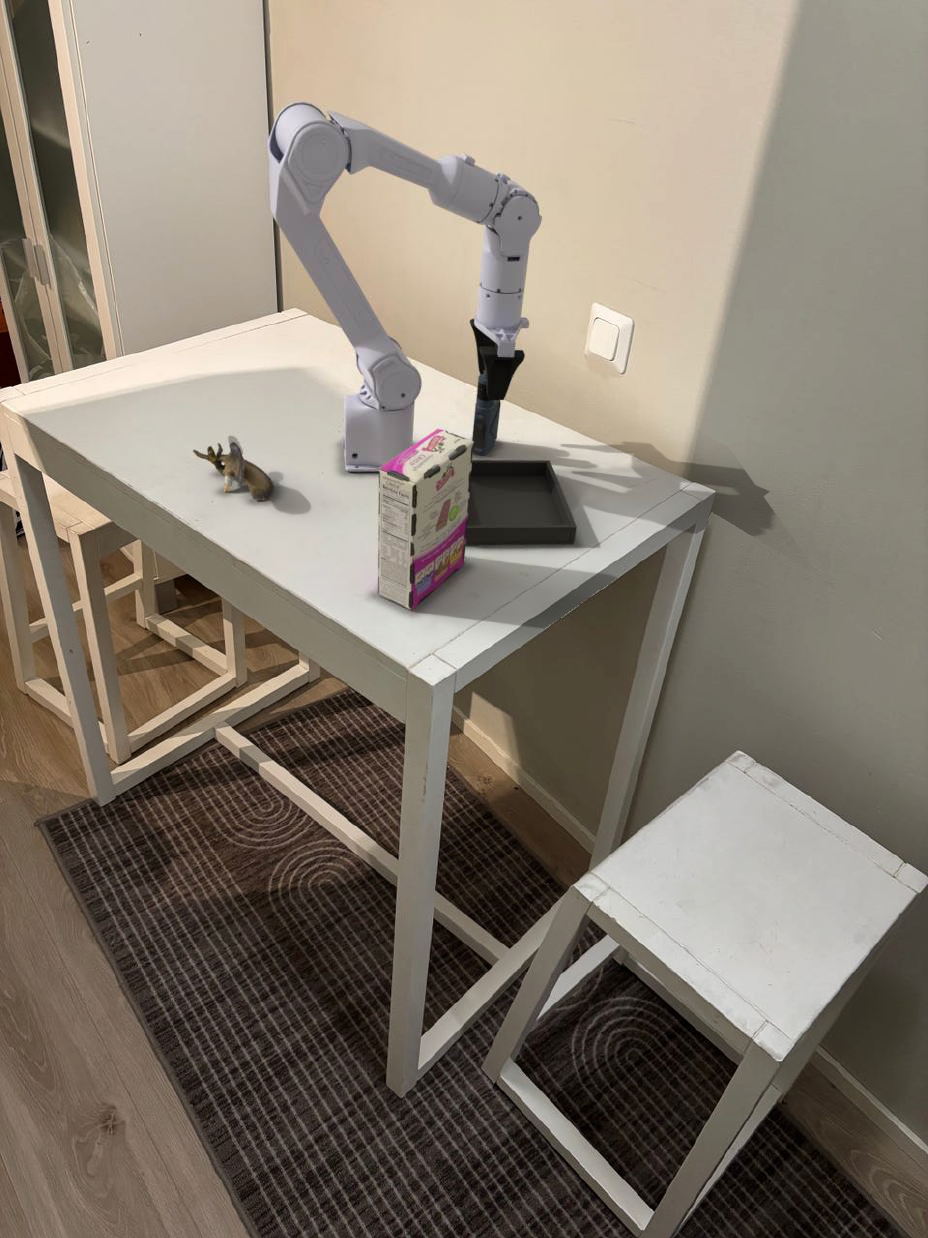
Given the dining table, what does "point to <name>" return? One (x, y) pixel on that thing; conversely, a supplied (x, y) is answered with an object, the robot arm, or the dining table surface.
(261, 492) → the antlered animal figurine
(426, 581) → the candy bar box
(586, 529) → the dining table surface
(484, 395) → the vaping device
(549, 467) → the tray
